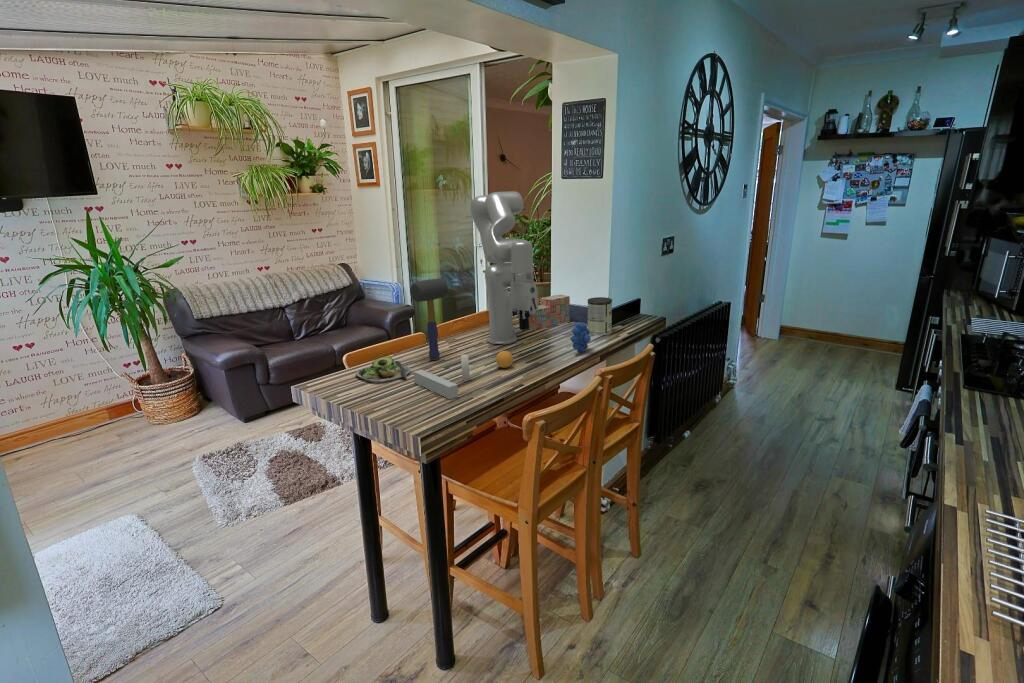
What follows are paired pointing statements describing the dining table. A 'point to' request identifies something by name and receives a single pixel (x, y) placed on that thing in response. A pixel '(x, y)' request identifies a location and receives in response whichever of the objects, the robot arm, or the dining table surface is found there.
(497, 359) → the ball
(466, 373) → the pin
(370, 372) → the salad plate
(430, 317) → the rubber mallet
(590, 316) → the coffee can
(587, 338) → the grapes
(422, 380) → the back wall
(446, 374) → the dining table surface
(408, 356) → the dining table surface
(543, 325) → the stack of blocks
